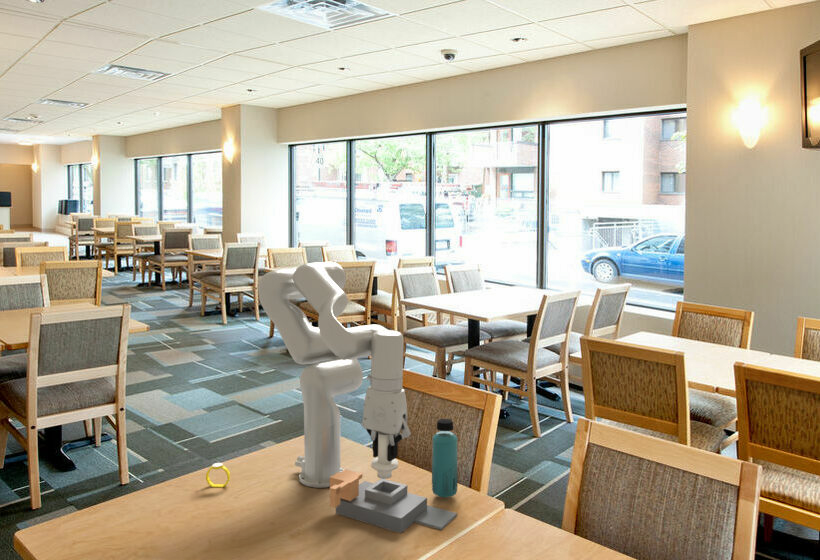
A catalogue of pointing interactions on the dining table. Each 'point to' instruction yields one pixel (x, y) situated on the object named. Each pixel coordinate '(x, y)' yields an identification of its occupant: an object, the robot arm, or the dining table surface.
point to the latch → (344, 486)
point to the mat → (435, 517)
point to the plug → (383, 458)
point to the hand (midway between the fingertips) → (384, 456)
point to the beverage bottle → (444, 460)
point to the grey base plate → (384, 505)
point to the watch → (218, 466)
